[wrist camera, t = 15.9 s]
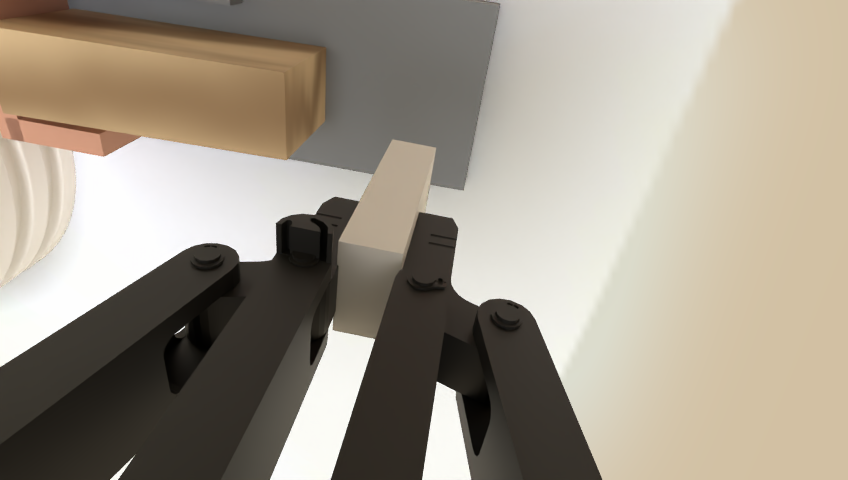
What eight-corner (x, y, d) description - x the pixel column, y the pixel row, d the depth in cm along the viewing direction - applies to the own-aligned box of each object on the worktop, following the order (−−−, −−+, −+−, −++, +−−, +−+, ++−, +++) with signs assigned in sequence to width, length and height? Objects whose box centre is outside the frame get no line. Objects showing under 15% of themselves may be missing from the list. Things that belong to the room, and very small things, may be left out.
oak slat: (73, 8, 27) (-26, 23, 22) (326, 47, 26) (284, 72, 21) (90, 83, 29) (3, 113, 24) (325, 120, 28) (286, 160, 23)
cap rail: (48, -72, 26) (-66, -75, 21) (499, 3, 25) (499, 19, 20) (89, 114, 31) (5, 148, 26) (464, 182, 30) (457, 232, 25)
